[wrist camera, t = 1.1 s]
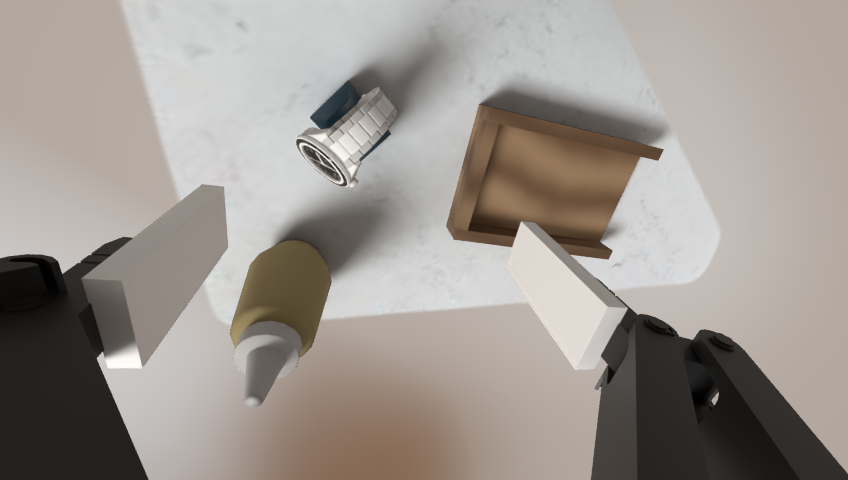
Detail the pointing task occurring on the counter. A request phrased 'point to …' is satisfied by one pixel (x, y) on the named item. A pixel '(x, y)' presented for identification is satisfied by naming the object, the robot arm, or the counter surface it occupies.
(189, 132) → the counter surface
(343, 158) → the watch
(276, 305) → the squeeze bottle
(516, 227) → the walnut track
